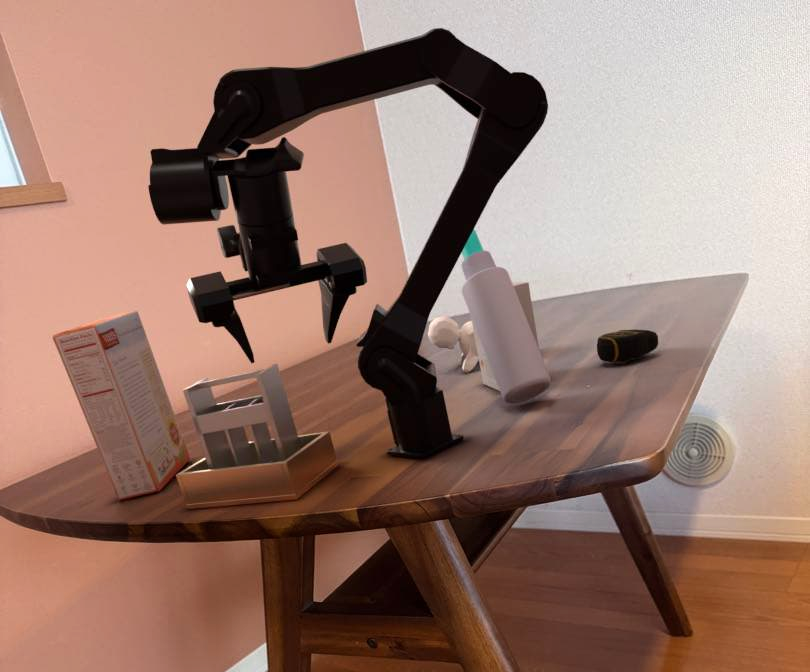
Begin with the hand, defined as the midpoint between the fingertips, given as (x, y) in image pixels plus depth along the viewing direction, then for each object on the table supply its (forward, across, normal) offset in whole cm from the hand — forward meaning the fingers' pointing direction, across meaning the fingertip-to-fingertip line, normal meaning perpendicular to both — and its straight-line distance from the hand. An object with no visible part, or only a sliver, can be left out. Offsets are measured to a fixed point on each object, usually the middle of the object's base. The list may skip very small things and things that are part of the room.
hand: (290, 351), depth 89 cm
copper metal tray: (+9, +8, +11) cm, 16 cm away
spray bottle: (+7, -25, +11) cm, 29 cm away
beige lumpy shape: (+22, -33, -19) cm, 44 cm away
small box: (+14, -30, -1) cm, 33 cm away
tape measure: (+12, -44, +4) cm, 46 cm away
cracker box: (+17, +20, -7) cm, 27 cm away
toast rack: (+9, +8, +10) cm, 16 cm away
